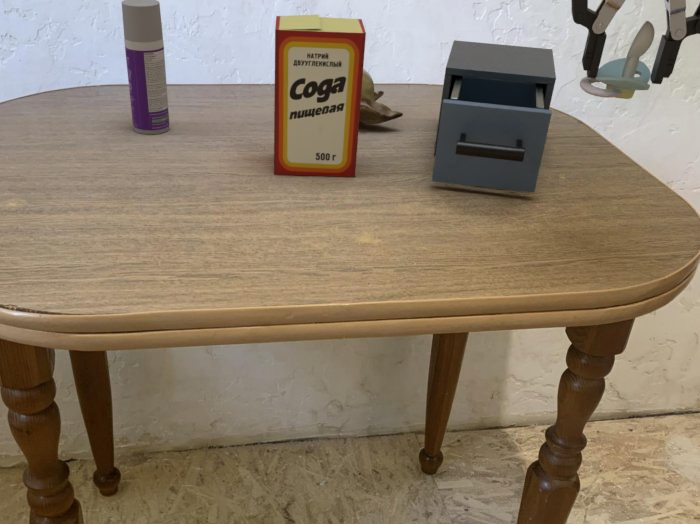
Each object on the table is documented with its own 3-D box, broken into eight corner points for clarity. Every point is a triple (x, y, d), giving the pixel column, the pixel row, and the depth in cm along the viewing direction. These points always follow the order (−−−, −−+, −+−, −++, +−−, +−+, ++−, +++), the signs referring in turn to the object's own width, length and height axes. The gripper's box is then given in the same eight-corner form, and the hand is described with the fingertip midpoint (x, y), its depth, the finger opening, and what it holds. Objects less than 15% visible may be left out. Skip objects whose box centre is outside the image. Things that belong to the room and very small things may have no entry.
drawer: (534, 209, 82) (553, 127, 77) (428, 196, 84) (439, 115, 79) (532, 154, 96) (548, 80, 90) (440, 144, 97) (451, 71, 92)
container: (126, 127, 101) (112, 0, 92) (156, 120, 103) (146, -4, 94) (146, 137, 98) (134, 8, 89) (176, 129, 101) (168, 3, 91)
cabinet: (536, 167, 95) (556, 77, 88) (433, 155, 96) (445, 67, 90) (534, 131, 105) (552, 49, 99) (442, 121, 107) (453, 40, 101)
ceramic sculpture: (282, 42, 103) (388, 48, 106) (277, 108, 108) (379, 111, 112) (297, 65, 95) (412, 70, 98) (291, 134, 100) (400, 137, 103)
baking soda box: (351, 156, 95) (361, 15, 86) (354, 176, 90) (366, 29, 80) (275, 154, 95) (276, 12, 85) (273, 174, 90) (275, 26, 80)
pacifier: (574, 100, 69) (645, 108, 67) (591, 24, 65) (666, 31, 64) (581, 79, 75) (646, 86, 73) (596, 8, 71) (666, 14, 69)
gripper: (592, -152, 58) (543, 83, 68) (796, -142, 56) (714, 98, 66) (585, -155, 64) (541, 61, 74) (770, -147, 62) (698, 75, 72)
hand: (623, 77), depth 70 cm, fingers closed on pacifier, 5 cm apart
